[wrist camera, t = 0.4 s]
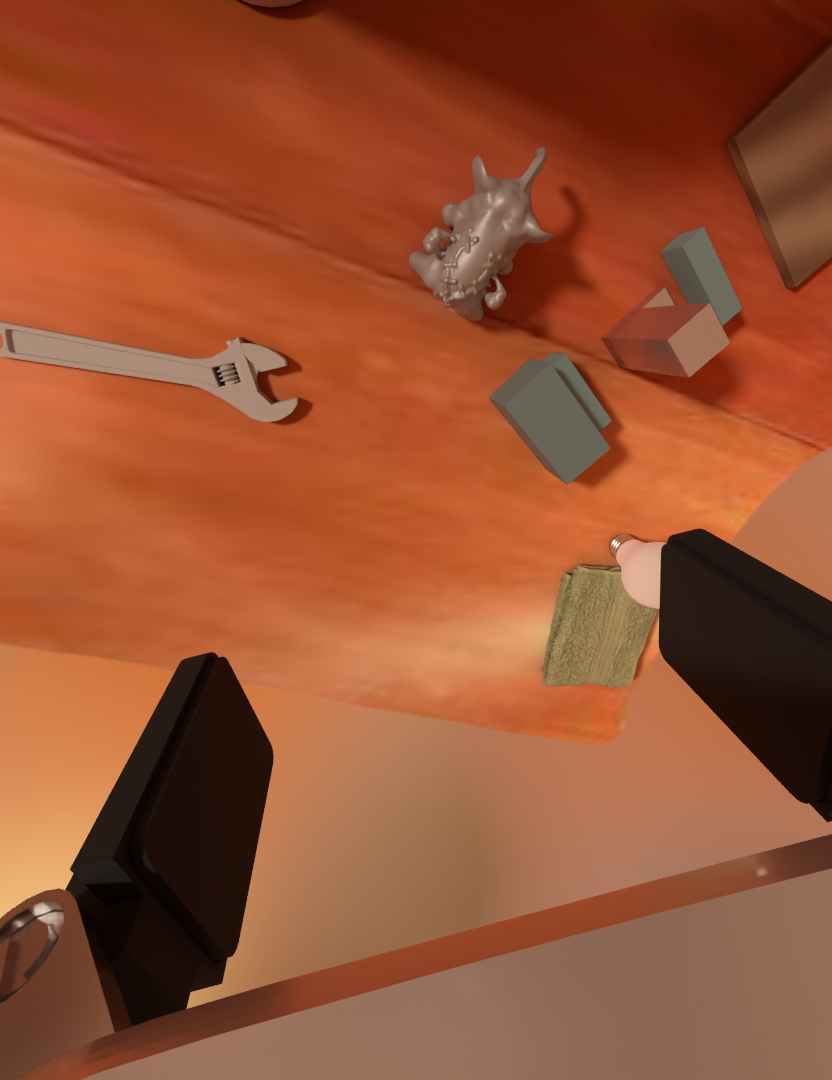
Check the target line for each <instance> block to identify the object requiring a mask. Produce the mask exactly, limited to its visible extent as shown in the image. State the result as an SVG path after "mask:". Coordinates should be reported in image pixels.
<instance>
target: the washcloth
mask: <svg viewBox="0 0 832 1080" xmlns="http://www.w3.org/2000/svg"><path fill="white" fill-rule="evenodd" d="M561 579H562V581H561V585H560V589H559V597H558V599H557V603H556V610H555V614H554V616H553V620H552V625H551V630H550V631H551V632H550V635H549V640H548V643H547V647H546V649H547V651H546V655H545V656H546V657H545V659H544V666H543V671H542V672H543V681H544V682H543V683H545V684H547V686H550V687H554V686H568V685H569V686H572V685H576V686H579V685H583V683H587V684H589V683H597V684H600V685H601V686H605V687H607V686H608V687H615V688H616V687H626V686H629V685H630V684H631V683H632V681H633V678H634V676H635V671H636V665H637V662H638V660H639V658H640V655H641V653H642V651H643V649H644V646H645V642H646V640H647V637H648V634H649V631H650V628H651V626H652V623H653V621H654V618H655V616H656V614H657V611H658V609H657V608H651V607H647V606H644V605H642V604H640V603H638V602H637V601H635V600H634V599H633V598H632V597H631V596H630V595H629V594H628V593H627V591H626V590H625V588H624V585H623V582H622V578H621V567H608V566H587V565H581V564H580V565H578V566H577V569H576V570H575V569H574V570H573V573H567V572H565V573H564V576H563V578H561Z"/></svg>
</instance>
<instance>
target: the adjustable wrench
mask: <svg viewBox="0 0 832 1080" xmlns="http://www.w3.org/2000/svg"><path fill="white" fill-rule="evenodd" d="M0 334H1V336H2V339H3V346H2V347H1V348H0V356H1V357H8V358H14V359H21V360H28V361H34V362H41V363H47V364H54V365H61V366H67V367H74V368H80V369H87V370H94V371H100V372H107V373H113V374H120V375H127V376H133V377H140V378H146V379H153V380H160V381H166V382H173V383H179V384H186V385H191V386H195V387H199V388H201V389H204V390H206V391H209V392H210V393H212V394H214V395H216V396H218V397H220V398H221V399H223V400H225V401H227V402H228V403H230V404H231V405H233V406H234V407H236V408H237V409H239V410H240V411H242V412H243V413H244V414H246V415H247V416H249V417H251V418H253V419H255V420H258V421H263V422H272V421H278V420H280V419H283V418H284V417H286V416H287V415H289V414H290V413H291V412H292V411H293V410H294V409H295V407H296V406H297V404H298V402H299V399H298V397H296V398H291V399H287V400H283V401H279V402H275V403H273V402H272V401H271V400H270V399H269V398H268V397H267V396H266V395H265V394H264V393H263V392H262V391H260V388H259V385H258V382H257V376H258V373H259V371H260V372H263V371H267V370H271V369H275V368H279V367H284V366H287V365H288V362H287V359H286V358H285V357H283V356H282V355H281V354H279V353H278V352H276V351H275V350H273V349H271V348H269V347H266V346H263V345H259V344H253V343H244V342H243V339H242V337H238V338H236V339H234V340H230V341H226V342H227V345H228V346H229V347H228V349H226V350H225V351H223V352H221V353H219V354H217V355H215V356H214V357H211V358H205V359H199V358H191V357H185V356H180V355H175V354H170V353H165V352H159V351H154V350H149V349H144V348H139V347H134V346H128V345H123V344H118V343H113V342H108V341H102V340H97V339H92V338H87V337H82V336H76V335H71V334H66V333H61V332H56V331H50V330H45V329H40V328H35V327H30V326H24V325H19V324H14V323H9V322H4V321H0ZM233 363H234V364H233ZM215 367H219V368H220V370H218V371H217V372H221V374H222V375H219V377H223V380H221V382H225V385H223V386H222V384H221V382H220V379H219V377H218V374H217V372H216V369H215ZM234 367H235V368H236V369H234ZM236 371H237V374H236ZM237 376H238V377H239V378H238V377H237ZM239 381H240V382H239Z"/></svg>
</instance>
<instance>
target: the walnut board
mask: <svg viewBox="0 0 832 1080" xmlns="http://www.w3.org/2000/svg"><path fill="white" fill-rule="evenodd" d="M726 145H727V148H728V150H729V152H730V155H731V157H732V160H733V162H734V164H735V167H736V169H737V171H738V174H739V176H740V179H741V181H742V183H743V186H744V188H745V190H746V193H747V195H748V198H749V200H750V202H751V205H752V207H753V210H754V212H755V214H756V217H757V219H758V221H759V224H760V226H761V229H762V231H763V233H764V236H765V238H766V240H767V243H768V245H769V248H770V250H771V252H772V255H773V257H774V259H775V262H776V264H777V267H778V269H779V271H780V274H781V276H782V278H783V281H784V283H785V286H786V288H793V287H797V286H798V285H799V284H800V283H802V282H803V281H804V280H805V279H806V278H807V277H809V276H810V275H811V274H812V273H813V272H815V271H816V270H817V269H818V268H819V267H820V266H822V265H823V264H824V263H825V262H826V261H827V260H829V259H830V258H831V257H832V42H831V43H830V44H829V45H828V46H827V47H826V48H825V49H824V50H823V51H822V52H821V53H820V54H819V55H817V56H816V57H815V58H814V59H813V60H812V61H811V62H810V63H809V64H808V65H807V66H806V67H805V68H804V69H803V70H802V71H801V72H800V73H799V74H798V75H797V76H795V77H794V78H793V79H792V80H791V81H790V82H789V83H788V84H787V85H786V86H785V87H784V88H783V89H782V90H781V91H780V92H779V93H778V94H777V95H776V96H775V97H773V98H772V99H771V100H770V101H769V102H768V103H767V104H766V105H765V106H764V107H763V108H762V109H761V110H760V111H759V112H758V113H757V114H756V115H755V116H754V117H753V118H752V119H750V120H749V121H748V122H747V123H746V124H745V125H744V126H743V127H742V128H741V129H740V130H739V131H738V132H737V133H736V134H735V135H734V136H733V137H732V138H731V139H730V140H728V141H727V142H726Z"/></svg>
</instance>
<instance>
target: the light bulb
mask: <svg viewBox="0 0 832 1080" xmlns="http://www.w3.org/2000/svg"><path fill="white" fill-rule="evenodd" d="M664 544H667V543H665V542H650V543H644V542H642V541H640V540H636V539H634V538H633V537H632V536H630V535H629V534H621V535H618V536H616V537H615V538H614V539H613V540H612V541H611V543H610V545H609V550H610V553H611V555H612V556H613V557H614V558H616V559H617V562H618V563H619V565H620V566H621V578H622V582H623V585H624V588H625V590H626V591H627V593H628V594H629V595H630V596H631V597H632V598H633V599H634V600H635V601H637V602H638V603H640V604H642V605H644V606H647V607H651V608H657V609H660V569H661V548H662V546H663V545H664Z"/></svg>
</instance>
